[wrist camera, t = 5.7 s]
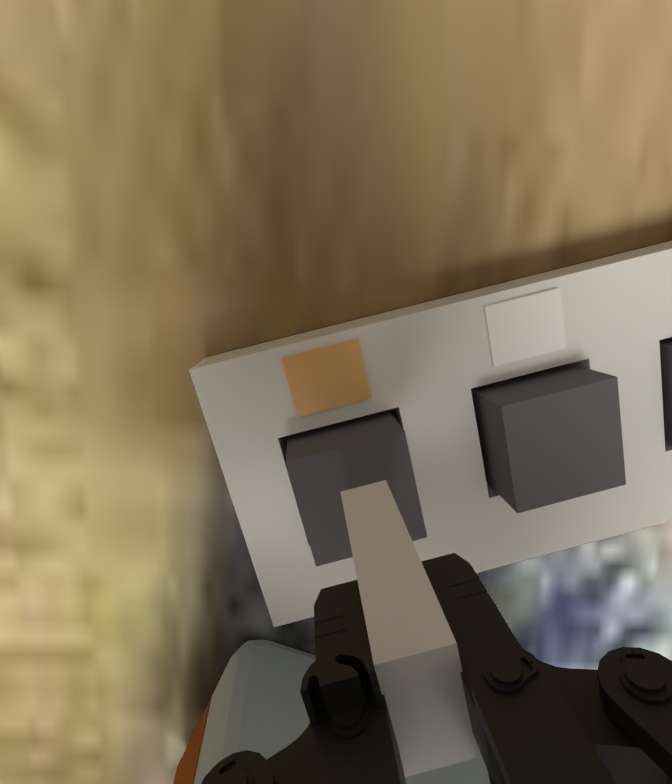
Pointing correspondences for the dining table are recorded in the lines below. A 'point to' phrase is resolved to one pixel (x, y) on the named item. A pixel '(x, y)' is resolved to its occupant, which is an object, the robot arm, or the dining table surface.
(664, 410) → the button
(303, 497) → the button
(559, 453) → the button middle
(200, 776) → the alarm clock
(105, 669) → the dining table surface
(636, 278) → the board
